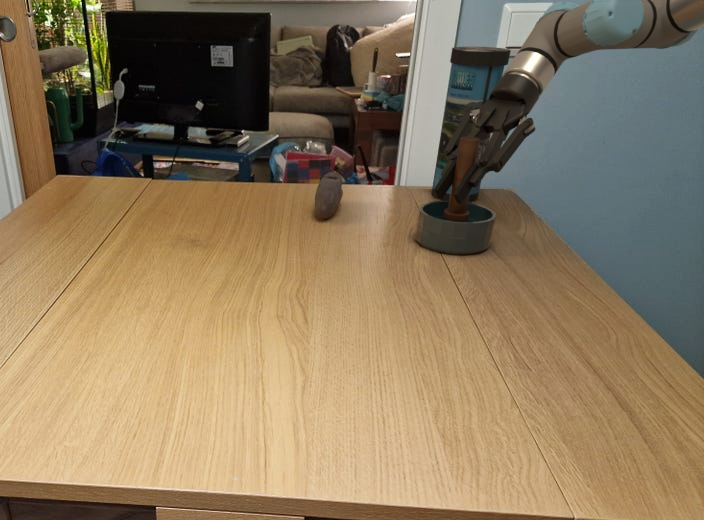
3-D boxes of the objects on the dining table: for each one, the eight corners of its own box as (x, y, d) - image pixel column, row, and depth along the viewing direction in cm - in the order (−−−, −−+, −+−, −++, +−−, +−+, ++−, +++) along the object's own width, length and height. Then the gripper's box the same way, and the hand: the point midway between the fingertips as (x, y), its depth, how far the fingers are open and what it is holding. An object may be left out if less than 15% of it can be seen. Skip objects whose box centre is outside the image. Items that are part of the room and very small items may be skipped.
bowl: (504, 249, 120) (512, 216, 117) (448, 260, 115) (455, 227, 112) (453, 227, 130) (459, 197, 127) (399, 237, 125) (404, 206, 122)
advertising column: (482, 192, 151) (512, 48, 136) (477, 205, 142) (508, 53, 127) (432, 186, 155) (455, 45, 140) (424, 199, 146) (448, 50, 131)
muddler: (473, 219, 119) (489, 139, 112) (454, 223, 118) (469, 142, 111) (456, 212, 123) (470, 134, 116) (437, 216, 121) (451, 137, 114)
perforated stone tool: (332, 225, 131) (335, 190, 127) (306, 222, 132) (308, 188, 129) (344, 203, 143) (347, 171, 140) (320, 201, 145) (322, 169, 141)
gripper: (569, 107, 114) (494, 220, 113) (485, 95, 125) (416, 198, 124) (561, 76, 108) (483, 195, 108) (474, 66, 119) (402, 174, 119)
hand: (447, 196), depth 116 cm, fingers closed on muddler, 3 cm apart
